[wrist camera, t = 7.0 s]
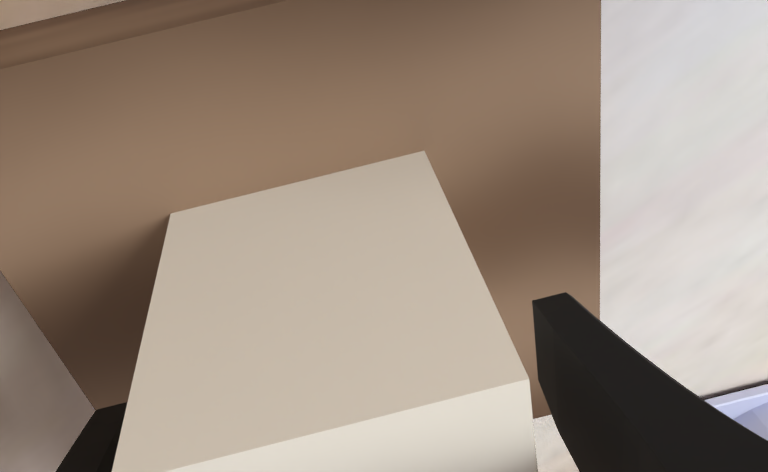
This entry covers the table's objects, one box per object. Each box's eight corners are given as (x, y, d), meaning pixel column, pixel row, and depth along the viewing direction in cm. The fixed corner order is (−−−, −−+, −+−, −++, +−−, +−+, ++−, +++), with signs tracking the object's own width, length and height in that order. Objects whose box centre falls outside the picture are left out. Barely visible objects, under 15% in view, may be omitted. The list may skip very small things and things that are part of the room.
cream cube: (457, 335, 15) (548, 588, 10) (251, 387, 15) (244, 668, 10) (424, 150, 12) (529, 379, 8) (170, 213, 12) (108, 486, 7)
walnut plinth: (557, 328, 20) (599, 402, 17) (177, 423, 20) (165, 512, 17) (537, -98, 13) (601, -75, 11) (-45, 41, 13) (-118, 96, 10)
